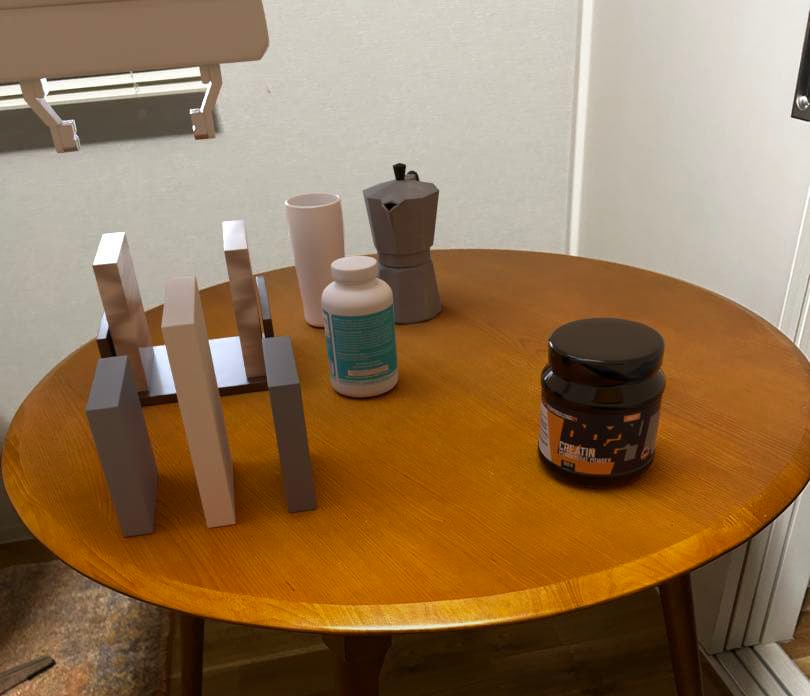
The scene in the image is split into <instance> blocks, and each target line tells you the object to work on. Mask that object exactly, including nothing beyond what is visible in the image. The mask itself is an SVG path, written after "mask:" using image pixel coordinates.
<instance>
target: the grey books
mask: <svg viewBox="0 0 810 696" xmlns="http://www.w3.org/2000/svg"><path fill="white" fill-rule="evenodd" d="M262 346H263V353H264V360H265V367H266V375H267V382H268V389H269V390H268V395H269V401H270V407H271V413H272V420H273V425H274V432H275V438H276V444H277V450H278V451H277V452H278V456H279V463H280V469H281V476H282V482H283V489H284V493H285V501H286V507H287V512H288V514H292V513H297V512H299V513H300V512H304V511H312V510H317V509H318V505H317V497H316V491H315V485H314V477H313V469H312V468H313V467H312V462H311V455H310V454H311V453H310V448H309V439H308V431H307V425H306V417H305V409H304V402H303V395H302V387H301V382H300V377H299V372H298V368H297V362H296V357H295V352H294V349H293V343H292V339H291V335H289V334H288V335H280V336H274V337H272V338H264V339H262ZM142 408H143V407H142V406H141V404H140V400H139V396H138V393H137V389H136V385H135V381H134V377H133V373H132V370H131V366H130V362H129V358H128V356H127V355H125V356H117V357H109V358H101V357H100V358H98V359H97V362H96V367H95V371H94V374H93V380H92V383H91V387H90V390H89V394H88V399H87V402H86V406H85V409H84V412H85V416H86V419H87V422H88V426H89V429H90V433H91V435H92V438H93V442H94V445H95V449H96V451H97V456H98V457H99V461H100V464H101V465H100V466H101V469H102V471H103V475H104V478H105V481H106V485H107V487H108V491H109V494H110V497H111V500H112V504H113V506H114V510H115V513H116V514H115V515H116V516H117V520H118V523H119V526H120V529H121V532H122V536H123V538H129V537H135V536H142V535H148V534H149V535H150V534H153V533H154V530H155V519H156V510H157V509H156V508H157V497H158V496H157V495H158V485H159V469H158V465H157V462H156V458H155V453H154V450H153V446H152V443H151V439H150V435H149V431H148V428H147V423H146V420H145V415H144V411H143V409H142Z"/></svg>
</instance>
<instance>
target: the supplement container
mask: <svg viewBox="0 0 810 696" xmlns="http://www.w3.org/2000/svg"><path fill="white" fill-rule="evenodd" d="M547 341H548V344H547V346H548V347H547V363H546V364H545V365H544V366H543V368H542V370H541V373H540V383H539V384H540V387H541V390H540V411H539V430H538V431H539V433H538V441H537V455H538V458H539V461H540V463H541V464H542V466H543V467H544V469H546V470H547V472H549V473H550V474H551V475H553V476H555V477H556V478H558V479H559V480H562V481H564V482H567V483H569V484H573V485H576V486H581V487H589V488H612V486H613V487H618V486H622V485H625V484H628V483H632V482H633V481H636V480H638V479H640V478H642V477H643V476H644V475H645V474H646V473H647V472H648V471H649V470H650V469H651V467H652V465H653V464H654V461H655V457H656V445H657V438H658V431H659V423H660V418H661V409H662V403H663V397H664V396H663V395H664V393H665V391H666V386H667V378H666V377H667V376H666V374H665V372H664V370H663V369H662V366H663V362H664V355H665V348H666V341H665V338H664V337H663V335H662V334H661V333H660V332H659V331H658V330H656V329H655V328H653V327H652V326H649V325H647V324H645V323H643V322H639V321H635V320H631V319H626V318H618V317H587V318H581V319H577V320H572V321H569V322H565V323H564V324H561V325H560V326H558V327H556V328H555V329H554V330H553V331H552V332H551V333H550V335H549V337H548V340H547Z"/></svg>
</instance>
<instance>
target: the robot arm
mask: <svg viewBox="0 0 810 696" xmlns="http://www.w3.org/2000/svg"><path fill="white" fill-rule="evenodd" d="M268 29H269V28H268V25H267V19H266V13H265V9H264V3H263V0H0V83H10V82H11V83H12V82H18V83H19V88H20V90H21V94H22V98H23V100H24V101H25V103H26V104H27V105H28V106H29V108H30V109H31V110H32V111H33V112H34V113H35V114H36V115H37V116H38V118H39V119H40V120H41V122H42V123H43V124H44V125H45V126H46V127H49V130H50V134H51V138H52V141H53V145H54V149H55V152H56V153H57V154H66V153H74V152H80V150H81V142H80V138H79V136H78V135H77V134H76V133H77V127H76V123H75V119H71V120H70V119H69V120H62V118H61V117H60V116H59V115H58V114H57V113H56V111H55V109H53V108H52V106H51V105H50V104H49V103H48V101H47V100H46V99H45V98H46V96H47V95H48V94H49V92H50V89H49V86H48V82H47V79H57V78H68V77H82V76H93V75H105V74H116V73H128V72H140V71H150V70H151V71H152V70H153V71H154V70H163V69H176V68H187V67H188V68H190V67H199V68H198V69H199V73H200V74H199V75H200V79H201V84H203V85H207V84H208V86H207V89H206V92H205V94H204V98H203V101H202V104H201V107H200V108H194V109H193V108H191V109H189V114H190V119H191V124H192V129H193V136H194V140H195V141H200V140H211V139H212V140H213V139H216V132H215V125H214V117H213V113H212V112H213V111H214V109H215V106H216V103H217V101H218V97H219V94H220V91H221V89H222V86H223V77H222V71H221V65H222V64H223V65H224V64H234V63H235V64H236V63H247V62H257V61H261V60H262V59H263V58H264V56H265V54H266V53H267V51H268V49H269V48H270V36H269V30H268Z"/></svg>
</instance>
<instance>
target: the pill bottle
mask: <svg viewBox="0 0 810 696" xmlns="http://www.w3.org/2000/svg"><path fill="white" fill-rule="evenodd" d="M377 261H378V260H377V258H375V257H372V256H367V255H351V256H345V257H344V258H340V259H337V260H335V261H334V262H333V263H332V264H331V271H332V277H333V279H334V280H335V281H334V282H332V283H331V284H329V285H328V286H327V287H326V288H325V289H324V291H323V293H322V297H321V301H322V310H323V318H324V327H323V328H324V334H325V343H326V351H327V361H328V370H329V377H330V383H331V386H332V388H333V389H334V391H336V392H337V393H338V394H341V395H343V396H345V397H350V398H371V397H376V396H380V395H382V394H385V393H387V392H389V391H391V390H392V389H394V388H395V386H396V385H397V383H398V381H399V368H398V367H399V365H398V364H399V363H398V351H397V337H396V335H397V334H396V324H395V320H394V304H393V293H392V290H391V288H390V286H389V285H388V284H387V283H386V282H384V281H383V280H381V279H378V278H376V276H377V274H378V267H377Z"/></svg>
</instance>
